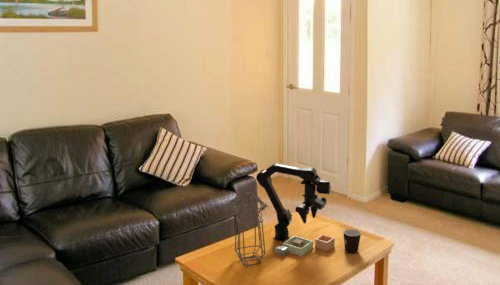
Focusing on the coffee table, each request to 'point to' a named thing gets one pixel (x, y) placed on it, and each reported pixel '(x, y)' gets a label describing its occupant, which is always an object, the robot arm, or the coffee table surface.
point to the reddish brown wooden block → (281, 250)
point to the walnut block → (297, 243)
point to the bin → (296, 250)
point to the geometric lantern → (249, 223)
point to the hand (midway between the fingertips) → (309, 220)
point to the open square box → (324, 243)
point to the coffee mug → (351, 240)
